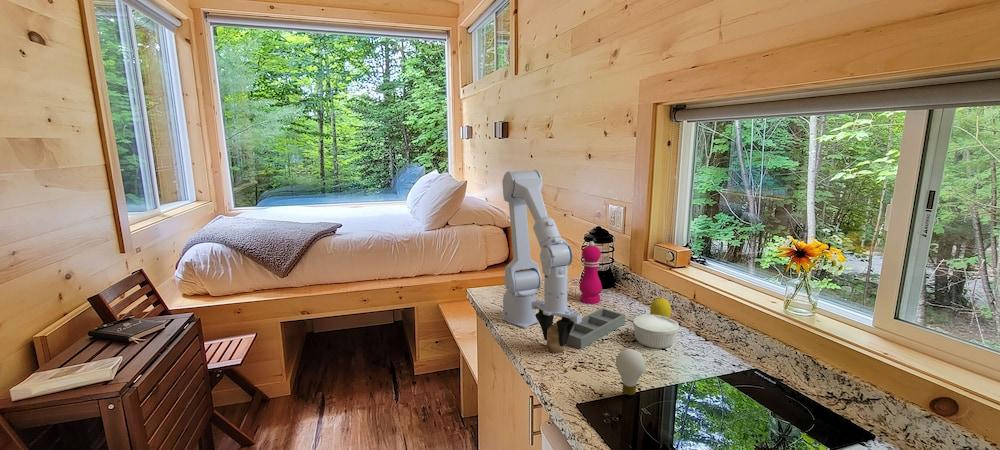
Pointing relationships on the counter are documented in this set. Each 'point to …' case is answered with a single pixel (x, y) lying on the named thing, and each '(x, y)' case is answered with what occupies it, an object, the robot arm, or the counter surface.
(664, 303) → the lemon
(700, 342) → the counter surface
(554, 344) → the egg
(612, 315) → the tray
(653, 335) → the ramekin
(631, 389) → the light bulb
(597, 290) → the pepper mill
